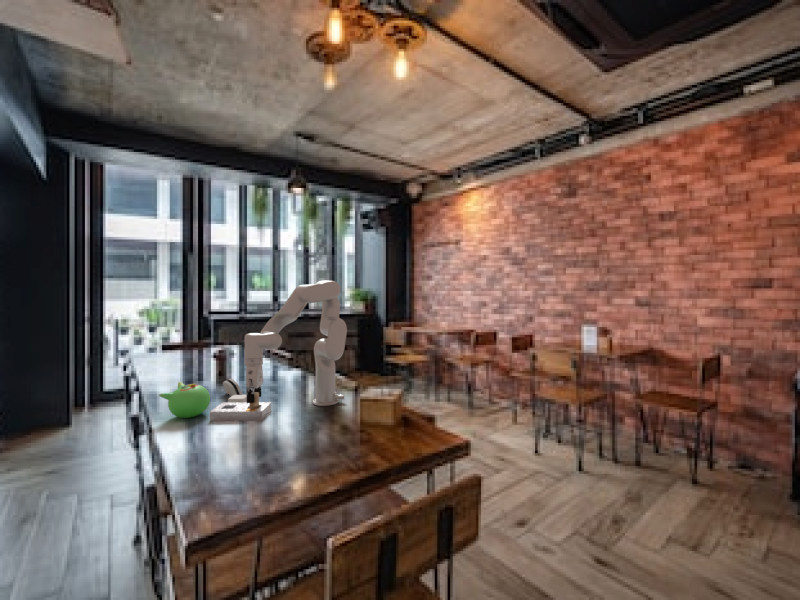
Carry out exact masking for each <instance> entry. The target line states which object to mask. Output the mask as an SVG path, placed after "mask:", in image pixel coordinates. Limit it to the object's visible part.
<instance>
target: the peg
mask: <svg viewBox="0 0 800 600" xmlns="http://www.w3.org/2000/svg"><path fill="white" fill-rule="evenodd" d="M254 394H255V402H254V403H249V406H250V409H254V408H259V402H260V397H259V393H258V392H254Z"/></svg>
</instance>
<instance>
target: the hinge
mask: <svg viewBox="0 0 800 600" xmlns="http://www.w3.org/2000/svg"><path fill="white" fill-rule="evenodd" d="M222 385H223V389H224V390H225V394H227V395H228V394H229V395H228V396H229V397H231V396H233V395H245V394H244V393H243V392H242V390H241V388H240V385H239V384H238V382H236V381H235V380H234V379H233V378H229V379H227V380H224V381H223V382H222Z"/></svg>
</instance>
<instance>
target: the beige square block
mask: <svg viewBox="0 0 800 600" xmlns="http://www.w3.org/2000/svg"><path fill="white" fill-rule="evenodd" d="M237 402H247V394H244V395H233V396H229V398H228V399H227V403H237Z"/></svg>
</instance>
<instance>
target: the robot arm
mask: <svg viewBox="0 0 800 600" xmlns="http://www.w3.org/2000/svg"><path fill="white" fill-rule="evenodd" d="M340 293H341V286H340V284H339V283H338V282H337V281H334V280H319V281H317V282H316V283H314V284H312V283H311V284H300V285H297V286H296V287H295V288H294V289H293V291H292V293H291V294H290V296H289V297H288V298H287V300H286V301H285V303H283V305H282V306H281V308H280V309H279V310H278V311H277V312H276V313H275V314H274V315H273V316H272V317H271V318H270V319H269V320H268V321H267V322H266V323H265V324H264V326H263V328H262V329H261V331H260V332H250V333H246V334H245V335H244V366H246V368H245V388H246V394H245V395H247V403H254V402H255V394H254V392H258V393H259V398H261V397H262V385H264V372H263V371H264V370H263V365H264V358H263V355H264V353H263V351H264V350H275V349H278V348H280V347H281V345H282V343H283V338H282V336H281V335H280V334H279V333H280V332H281V331H282V329H284V328H285V326H287V325H289V324H291V323H293V322H295V321H296V320H297V319H298V318H299V316H300V315H301V314H302V312H303V310H304V309H305V307H307V305H308V304H314V303H320V302H321V306H322V307H321V308H322V309H321V317H320V323H319V331H320V333H321V334H322V335H324V336H326V337H327V338H320V339H318V340H317V341H316V342H315V343H314V346H313V355H314V360H315V398H314V399H313V400H312V404H313V405H314V406H319V407H330V406H333V405H337V404H338V403H339V400H345V395H343V394H337V391H336V362H335V361H338V360H339V359H341V357H342V356H343V354H344V351H345V347H346V341H347V333H348V327H347V324H346V322H345V320H344V319H342V318H340V309H341V307H340V306H341V305H340V304H341V303H340V300H339V295H340Z"/></svg>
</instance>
